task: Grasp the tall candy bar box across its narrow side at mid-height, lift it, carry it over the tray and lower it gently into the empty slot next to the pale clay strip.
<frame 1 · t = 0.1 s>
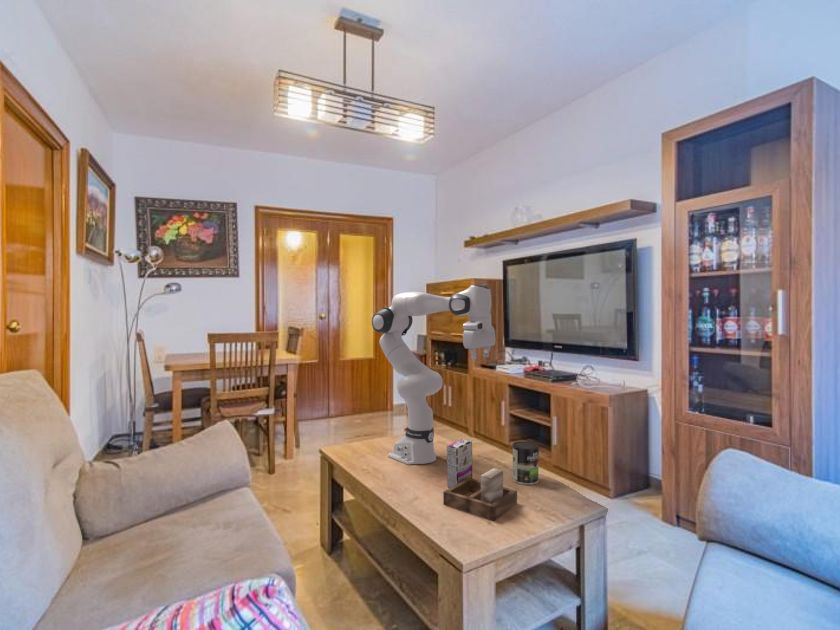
hand: (480, 358, 189), 48 cm above the table, fingers open, 8 cm apart
tray: (480, 503, 163), on the table
candy bar box: (459, 485, 180), on the table
coffee can: (525, 480, 185), on the table
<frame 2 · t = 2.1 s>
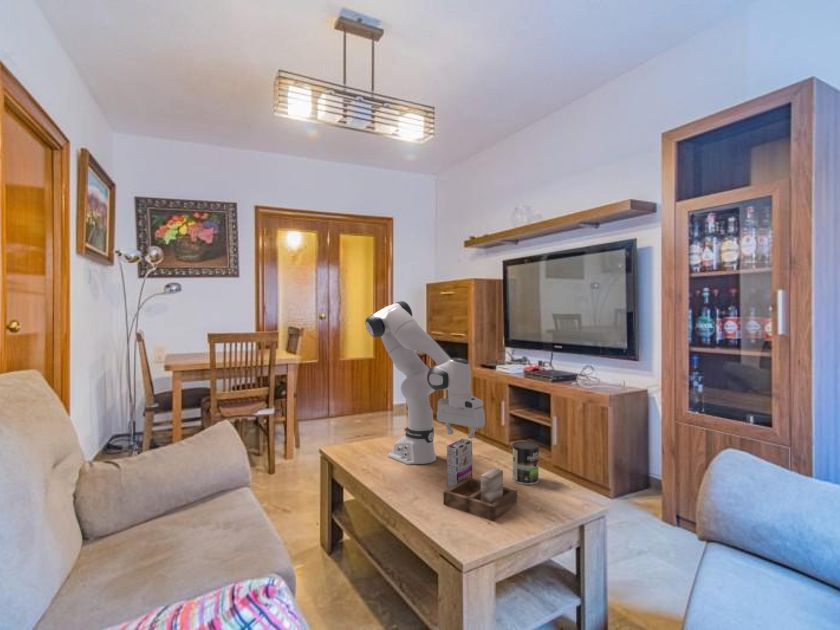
hand: (460, 436, 179), 19 cm above the table, fingers open, 8 cm apart
nothing on the table moved.
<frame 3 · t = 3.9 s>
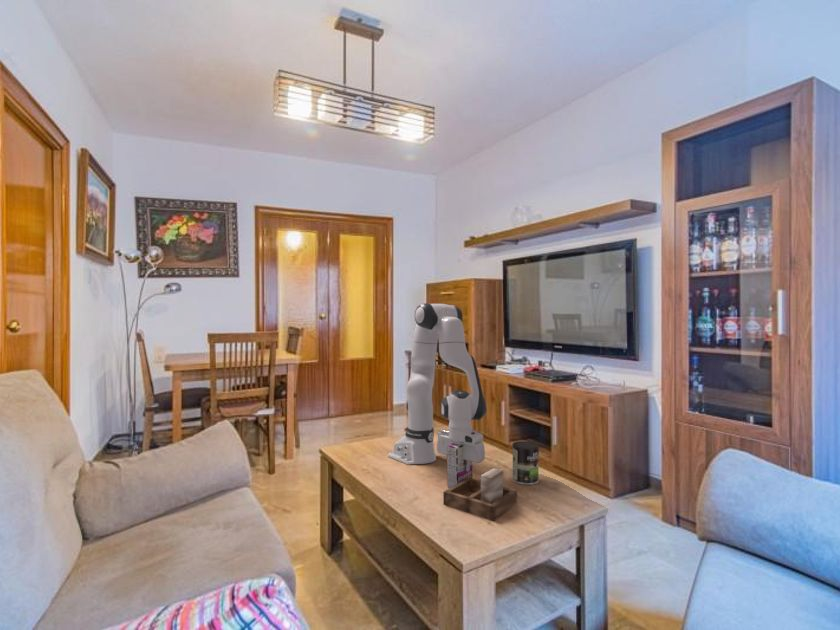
hand: (459, 469, 180), 6 cm above the table, fingers closed on candy bar box, 5 cm apart
candy bar box: (459, 485, 180), on the table, touching gripper
everything else where it was.
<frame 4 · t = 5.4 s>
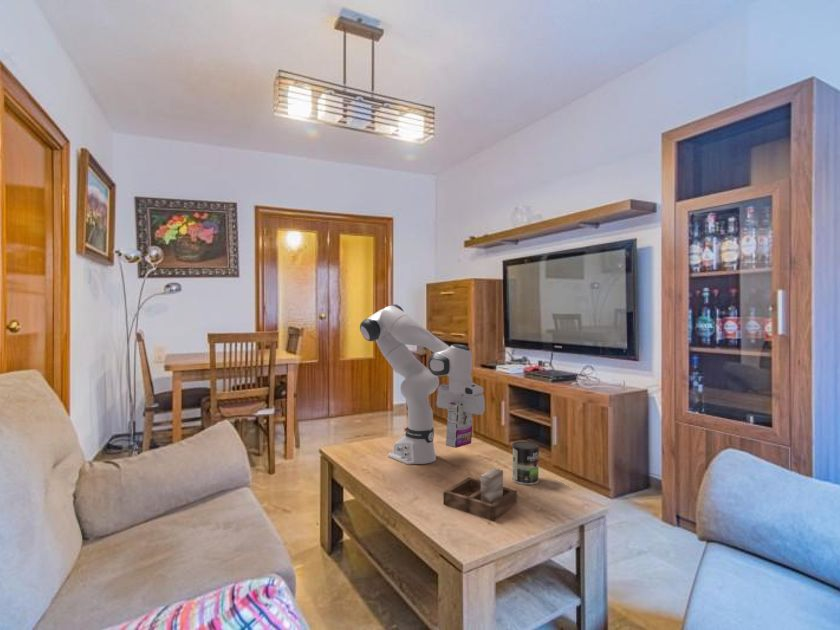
hand: (459, 422, 179), 24 cm above the table, fingers closed on candy bar box, 5 cm apart
candy bar box: (458, 445, 179), point 16 cm above the table, touching gripper
everything else where it was.
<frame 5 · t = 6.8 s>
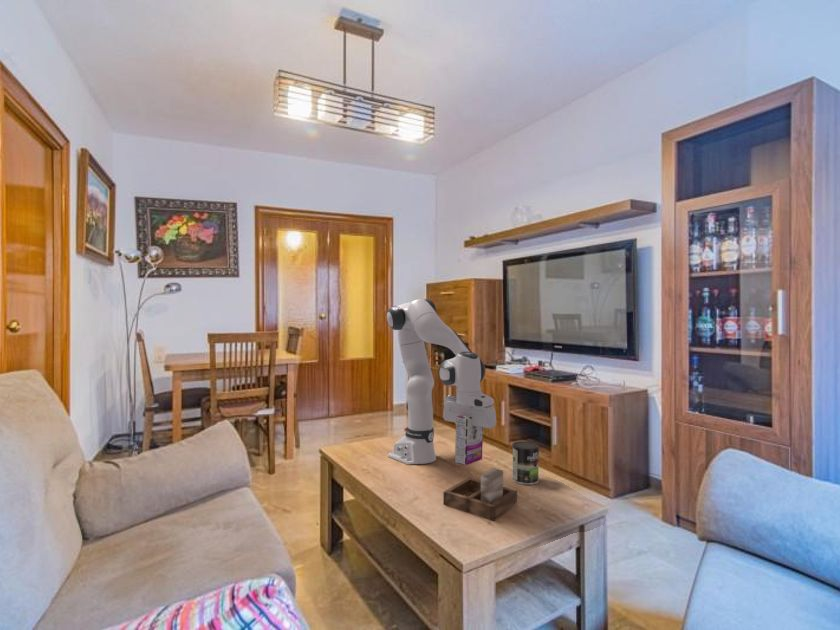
hand: (469, 436, 165), 23 cm above the table, fingers closed on candy bar box, 5 cm apart
candy bar box: (468, 461, 165), point 14 cm above the table, touching gripper
everything else where it was.
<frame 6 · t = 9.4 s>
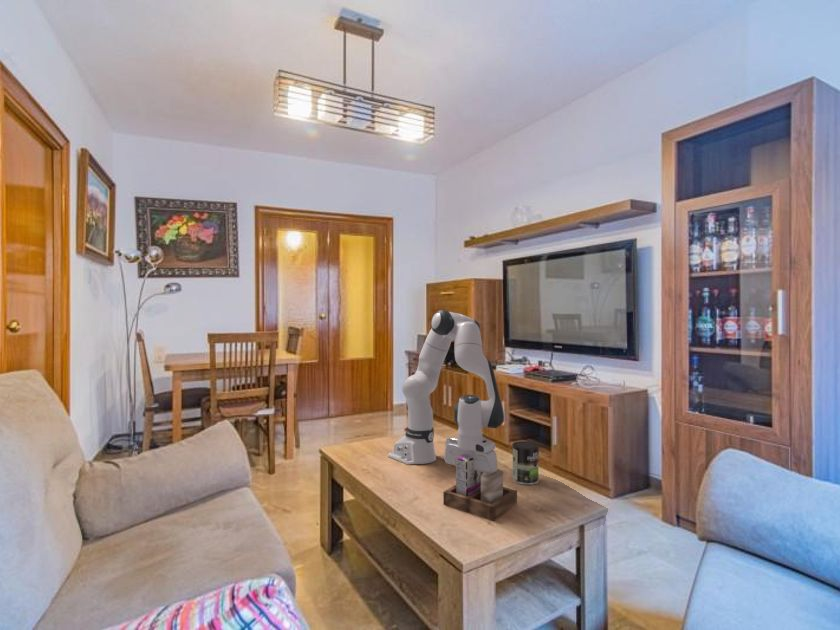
hand: (469, 480, 165), 7 cm above the table, fingers closed on candy bar box, 5 cm apart
candy bar box: (469, 501, 166), resting in tray, touching gripper
everything else where it was.
when the fingers open (7 cm above the table, at t = 9.5 s): candy bar box stays where it is, resting in tray.
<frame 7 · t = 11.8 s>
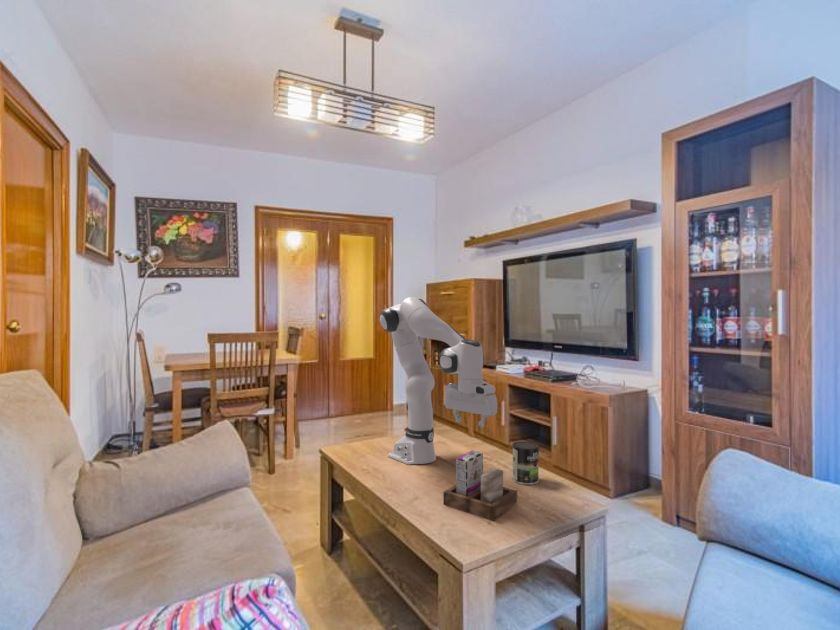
hand: (469, 424, 166), 27 cm above the table, fingers open, 8 cm apart
candy bar box: (469, 501, 166), resting in tray
everything else where it was.
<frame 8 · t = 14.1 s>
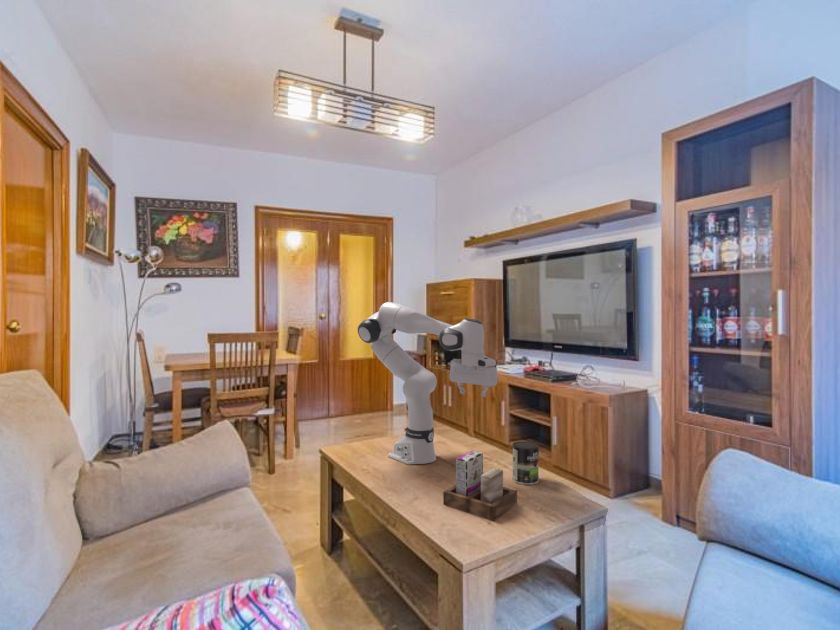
hand: (472, 395, 182), 34 cm above the table, fingers open, 8 cm apart
nothing on the table moved.
at the end: candy bar box inside the target area on the tray (0.1 cm from its centre), point 0.0 cm above the tray's base; candy bar box tilted 0°; the gripper is holding nothing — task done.
